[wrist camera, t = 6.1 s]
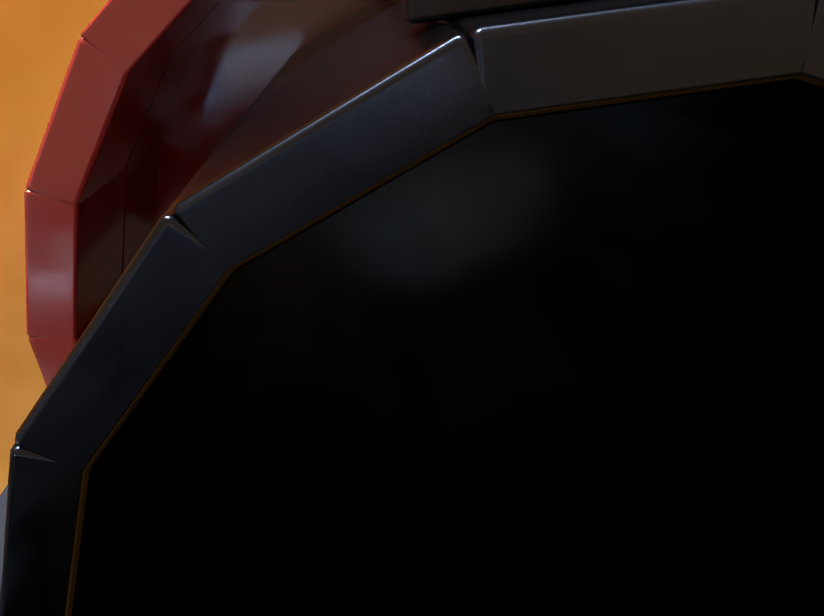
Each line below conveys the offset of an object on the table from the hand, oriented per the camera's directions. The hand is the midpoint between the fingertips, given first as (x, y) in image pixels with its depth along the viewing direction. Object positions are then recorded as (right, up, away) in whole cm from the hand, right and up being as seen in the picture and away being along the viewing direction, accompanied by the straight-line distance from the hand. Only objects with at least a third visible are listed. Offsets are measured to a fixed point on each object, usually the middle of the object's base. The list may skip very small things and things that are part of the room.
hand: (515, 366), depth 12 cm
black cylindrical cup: (0, +3, +6) cm, 6 cm away
